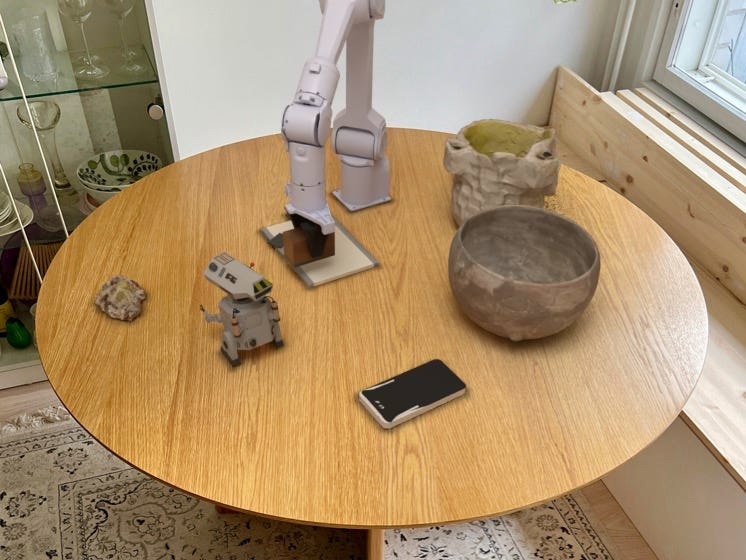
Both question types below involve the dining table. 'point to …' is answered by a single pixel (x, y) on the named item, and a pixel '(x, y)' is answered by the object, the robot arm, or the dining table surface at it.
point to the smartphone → (411, 393)
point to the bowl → (523, 270)
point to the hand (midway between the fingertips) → (310, 248)
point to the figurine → (243, 307)
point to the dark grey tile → (277, 241)
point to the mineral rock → (121, 298)
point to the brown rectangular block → (304, 247)
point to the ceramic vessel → (500, 166)
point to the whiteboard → (342, 264)
